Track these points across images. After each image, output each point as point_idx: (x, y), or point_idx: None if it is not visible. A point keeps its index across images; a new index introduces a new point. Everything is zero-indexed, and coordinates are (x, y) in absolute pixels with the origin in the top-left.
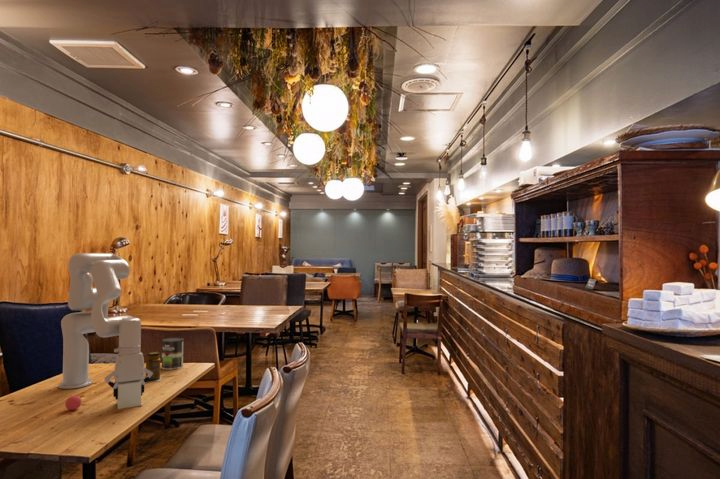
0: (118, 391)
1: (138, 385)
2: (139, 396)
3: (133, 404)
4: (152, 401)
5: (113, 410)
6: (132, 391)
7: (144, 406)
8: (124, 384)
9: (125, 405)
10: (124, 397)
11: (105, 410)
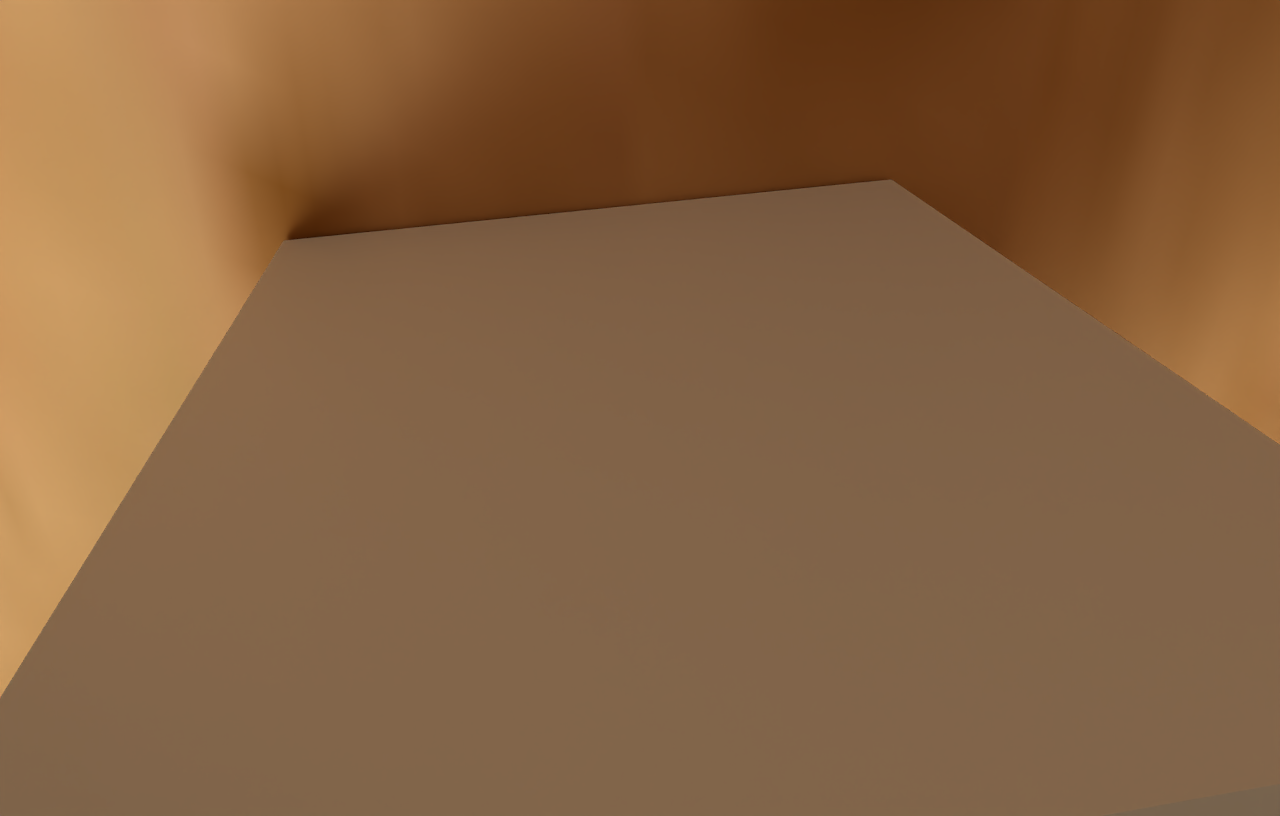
0: (1261, 441)
1: (164, 746)
2: (270, 364)
3: (495, 244)
4: (8, 478)
5: (1005, 120)
6: (558, 469)
7: (147, 93)
8: (1244, 784)
9: (722, 223)
10: (839, 323)
11: (1158, 216)
